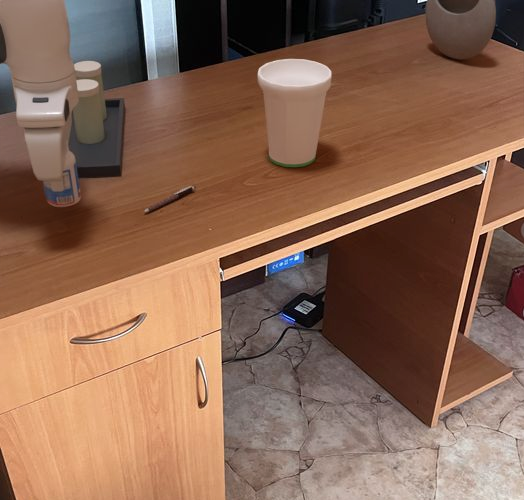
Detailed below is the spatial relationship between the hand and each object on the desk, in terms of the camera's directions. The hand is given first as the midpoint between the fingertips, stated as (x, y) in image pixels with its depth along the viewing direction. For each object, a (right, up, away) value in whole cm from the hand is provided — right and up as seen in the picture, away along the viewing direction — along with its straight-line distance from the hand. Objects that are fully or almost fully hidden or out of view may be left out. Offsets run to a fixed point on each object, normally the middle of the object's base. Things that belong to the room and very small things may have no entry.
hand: (60, 178), depth 121 cm
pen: (+16, -2, +7) cm, 18 cm away
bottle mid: (0, +13, +24) cm, 27 cm away
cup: (+37, +8, +20) cm, 42 cm away
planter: (+74, +40, +57) cm, 102 cm away
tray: (0, +12, +24) cm, 27 cm away
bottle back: (-1, +18, +30) cm, 36 cm away
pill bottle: (0, -3, +3) cm, 4 cm away
